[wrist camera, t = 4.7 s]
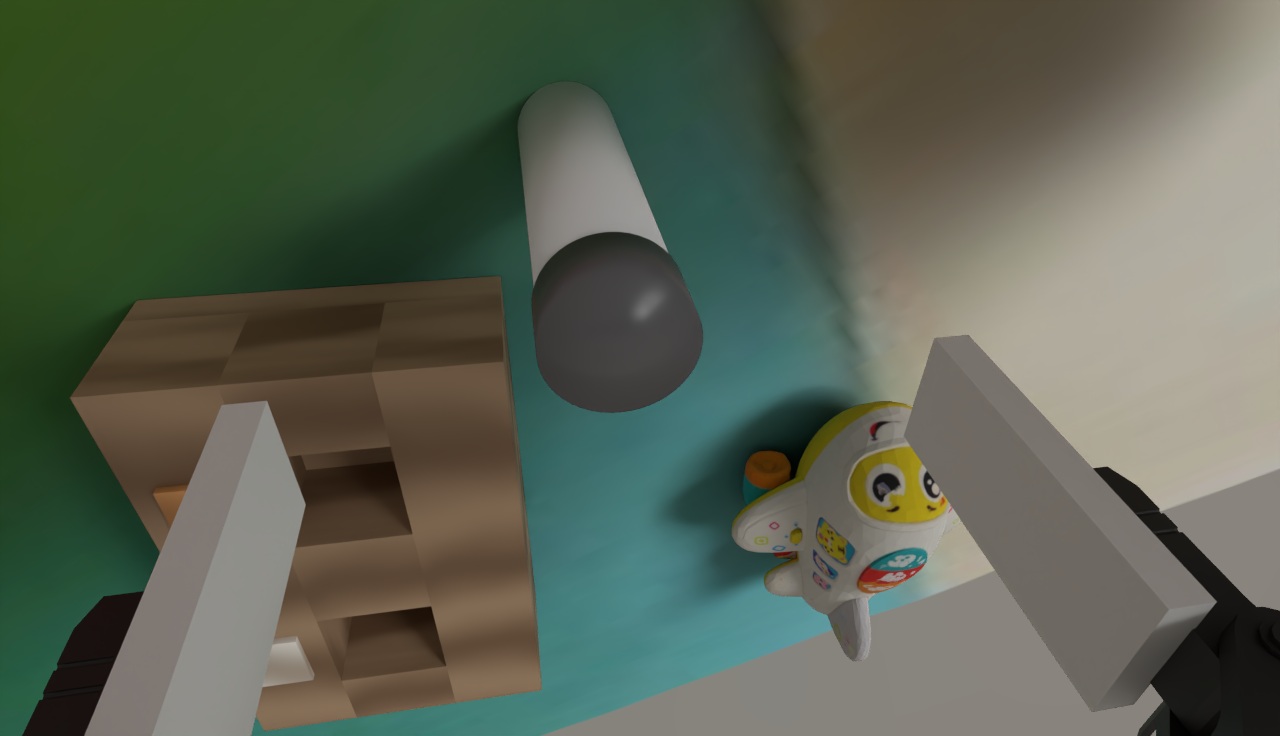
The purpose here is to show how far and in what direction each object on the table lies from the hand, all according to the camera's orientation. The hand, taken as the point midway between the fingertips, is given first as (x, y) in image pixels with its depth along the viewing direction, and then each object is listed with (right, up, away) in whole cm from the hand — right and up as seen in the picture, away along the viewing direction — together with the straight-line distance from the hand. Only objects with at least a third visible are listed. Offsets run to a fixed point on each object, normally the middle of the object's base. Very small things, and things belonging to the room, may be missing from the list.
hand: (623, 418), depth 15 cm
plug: (-2, +10, +13) cm, 16 cm away
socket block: (-13, -4, +22) cm, 25 cm away
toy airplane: (+11, -5, +27) cm, 30 cm away
